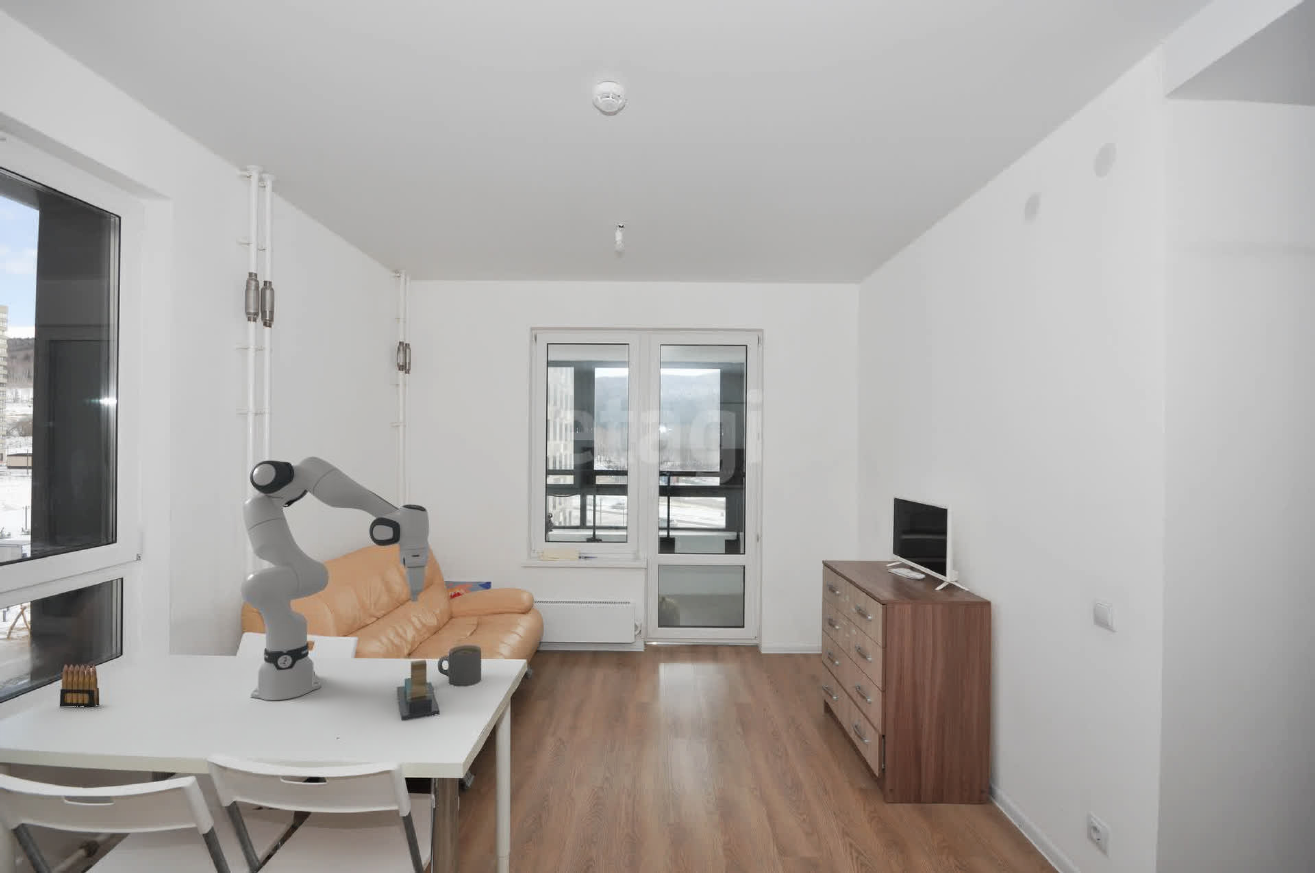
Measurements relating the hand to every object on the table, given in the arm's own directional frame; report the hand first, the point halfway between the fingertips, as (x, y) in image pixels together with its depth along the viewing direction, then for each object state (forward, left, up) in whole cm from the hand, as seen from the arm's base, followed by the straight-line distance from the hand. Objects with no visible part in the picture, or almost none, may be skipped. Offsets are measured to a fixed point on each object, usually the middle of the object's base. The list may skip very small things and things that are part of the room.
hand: (414, 600), depth 208 cm
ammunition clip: (-25, -90, -27) cm, 97 cm away
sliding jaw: (+10, 0, -26) cm, 28 cm away
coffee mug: (0, +14, -27) cm, 31 cm away
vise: (+13, 0, -27) cm, 30 cm away
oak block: (+18, 0, -26) cm, 31 cm away
